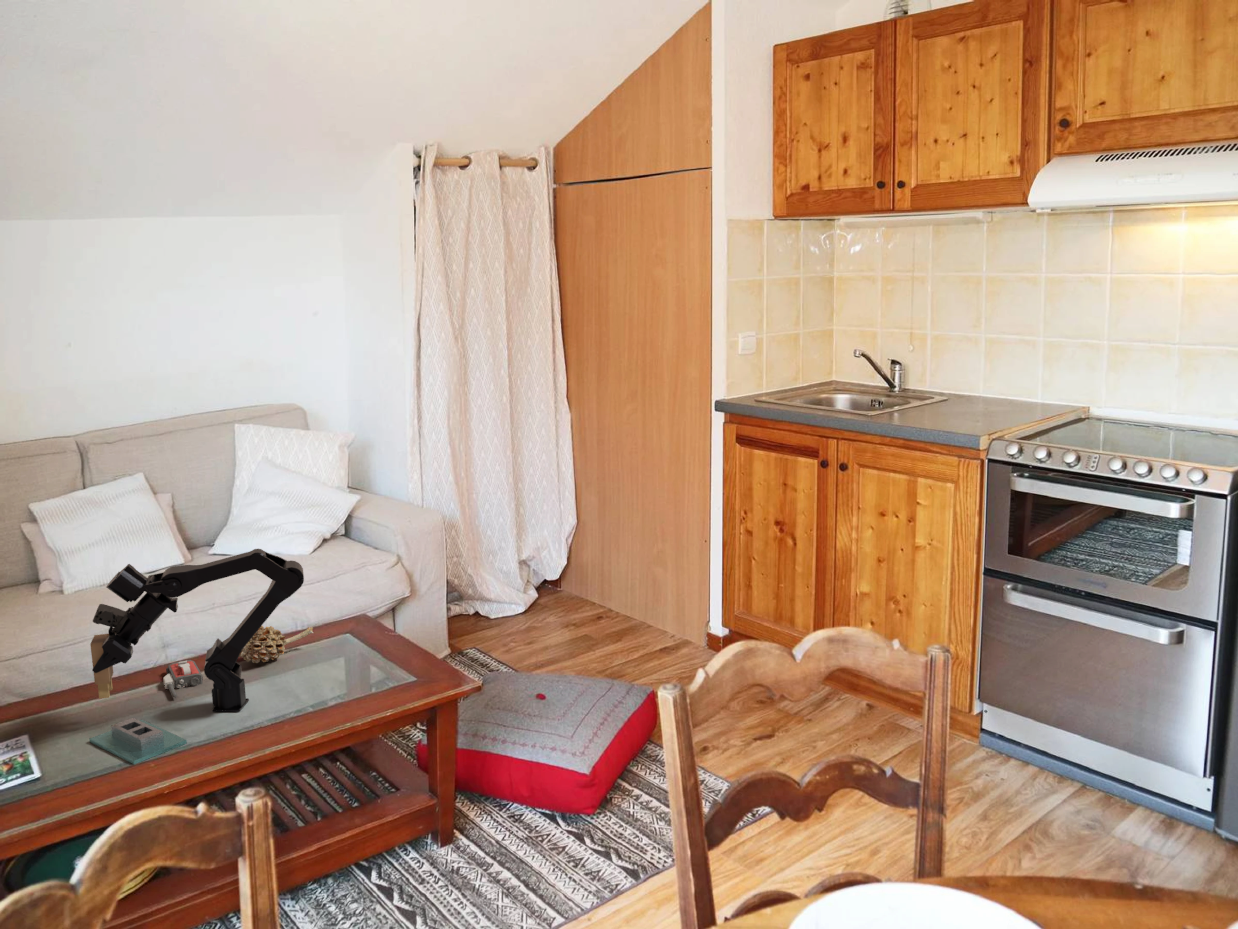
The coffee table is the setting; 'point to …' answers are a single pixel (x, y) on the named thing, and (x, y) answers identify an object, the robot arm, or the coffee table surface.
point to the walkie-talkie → (182, 675)
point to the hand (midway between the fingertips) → (96, 666)
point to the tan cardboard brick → (105, 675)
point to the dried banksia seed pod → (268, 644)
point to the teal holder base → (137, 740)
